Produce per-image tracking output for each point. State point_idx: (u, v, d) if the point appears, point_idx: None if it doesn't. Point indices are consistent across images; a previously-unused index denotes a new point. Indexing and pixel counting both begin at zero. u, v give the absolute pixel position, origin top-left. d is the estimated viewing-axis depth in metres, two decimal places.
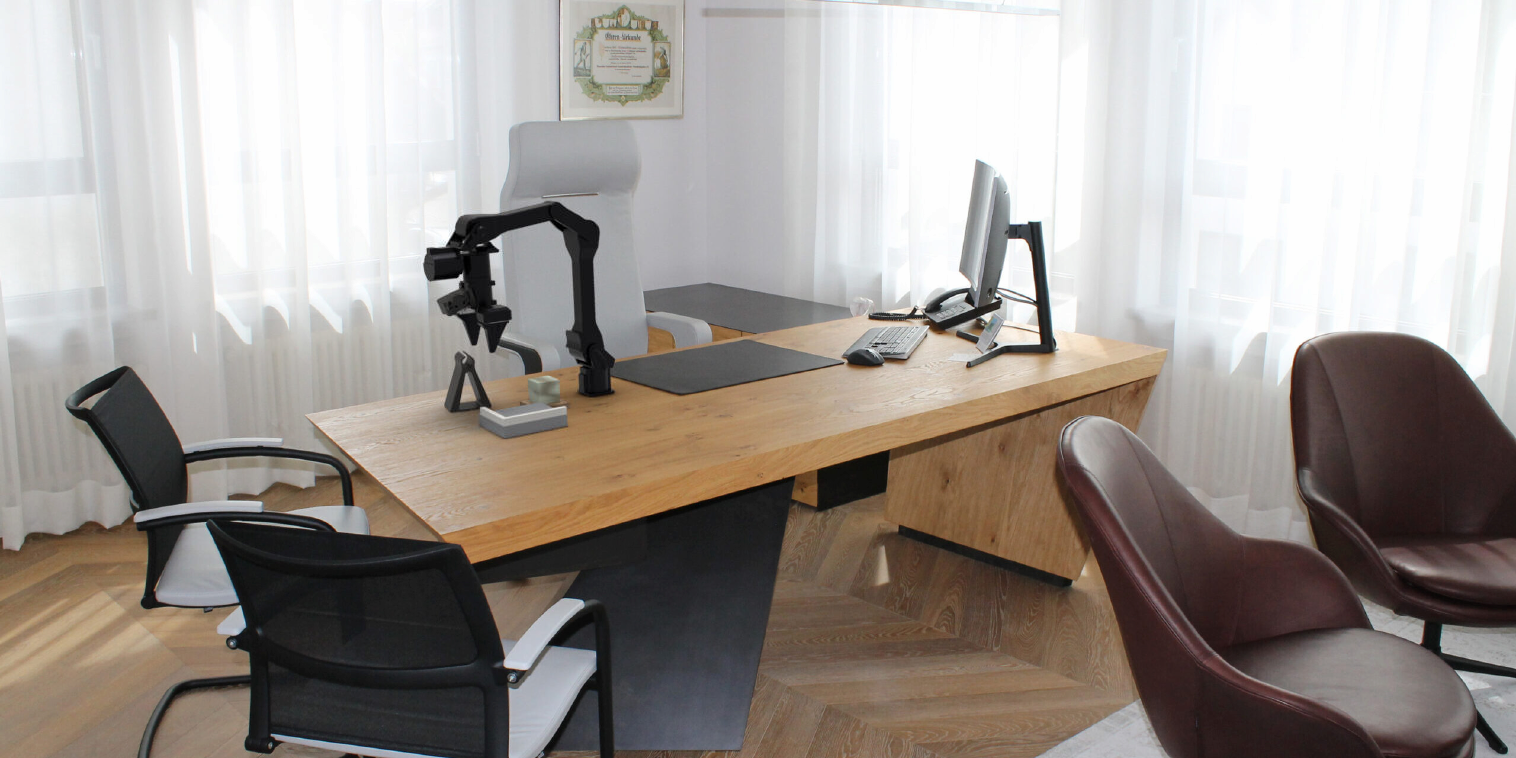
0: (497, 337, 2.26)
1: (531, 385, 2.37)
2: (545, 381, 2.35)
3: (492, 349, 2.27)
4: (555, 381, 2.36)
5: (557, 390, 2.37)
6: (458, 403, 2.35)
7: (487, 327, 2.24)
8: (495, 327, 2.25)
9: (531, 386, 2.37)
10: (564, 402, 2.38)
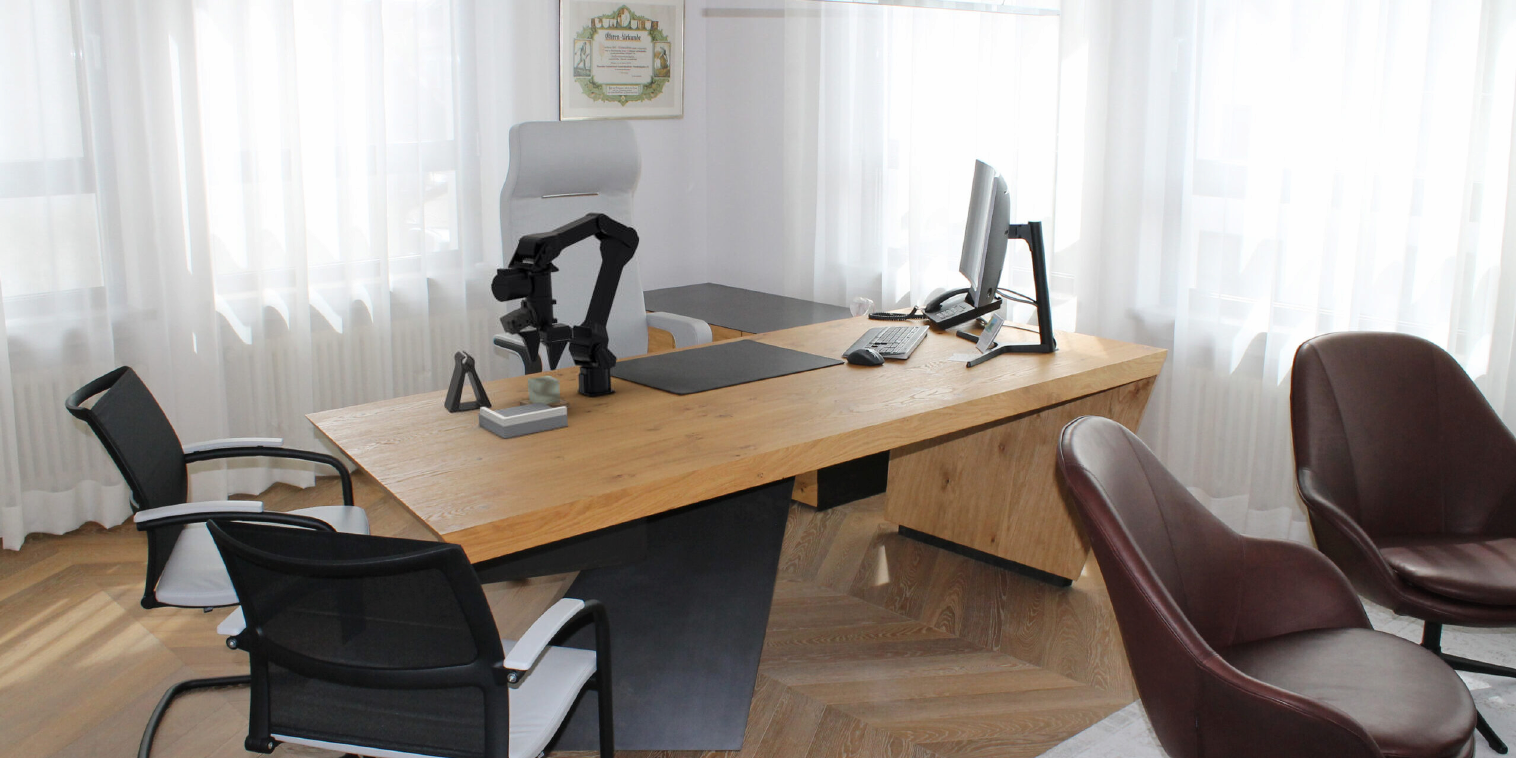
0: (558, 355, 2.32)
1: (531, 385, 2.37)
2: (545, 381, 2.35)
3: (553, 366, 2.32)
4: (555, 381, 2.36)
5: (557, 390, 2.37)
6: (458, 403, 2.35)
7: (549, 345, 2.29)
8: (556, 345, 2.31)
9: (531, 386, 2.37)
10: (564, 402, 2.38)
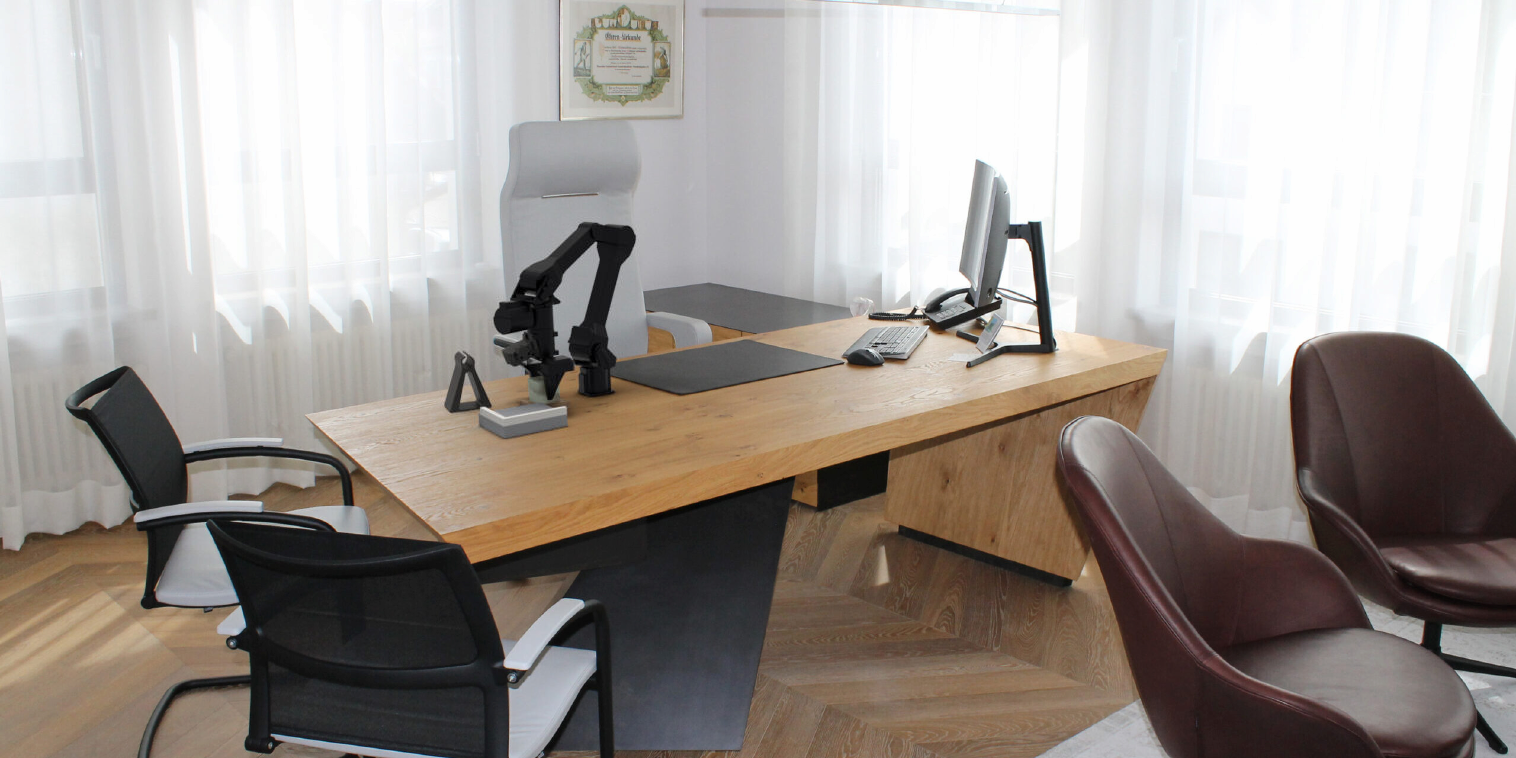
0: (555, 385, 2.35)
1: (531, 384, 2.37)
2: None
3: (550, 396, 2.35)
4: None
5: (557, 389, 2.37)
6: (458, 403, 2.35)
7: (546, 376, 2.32)
8: (553, 375, 2.34)
9: (531, 386, 2.37)
10: (564, 401, 2.37)
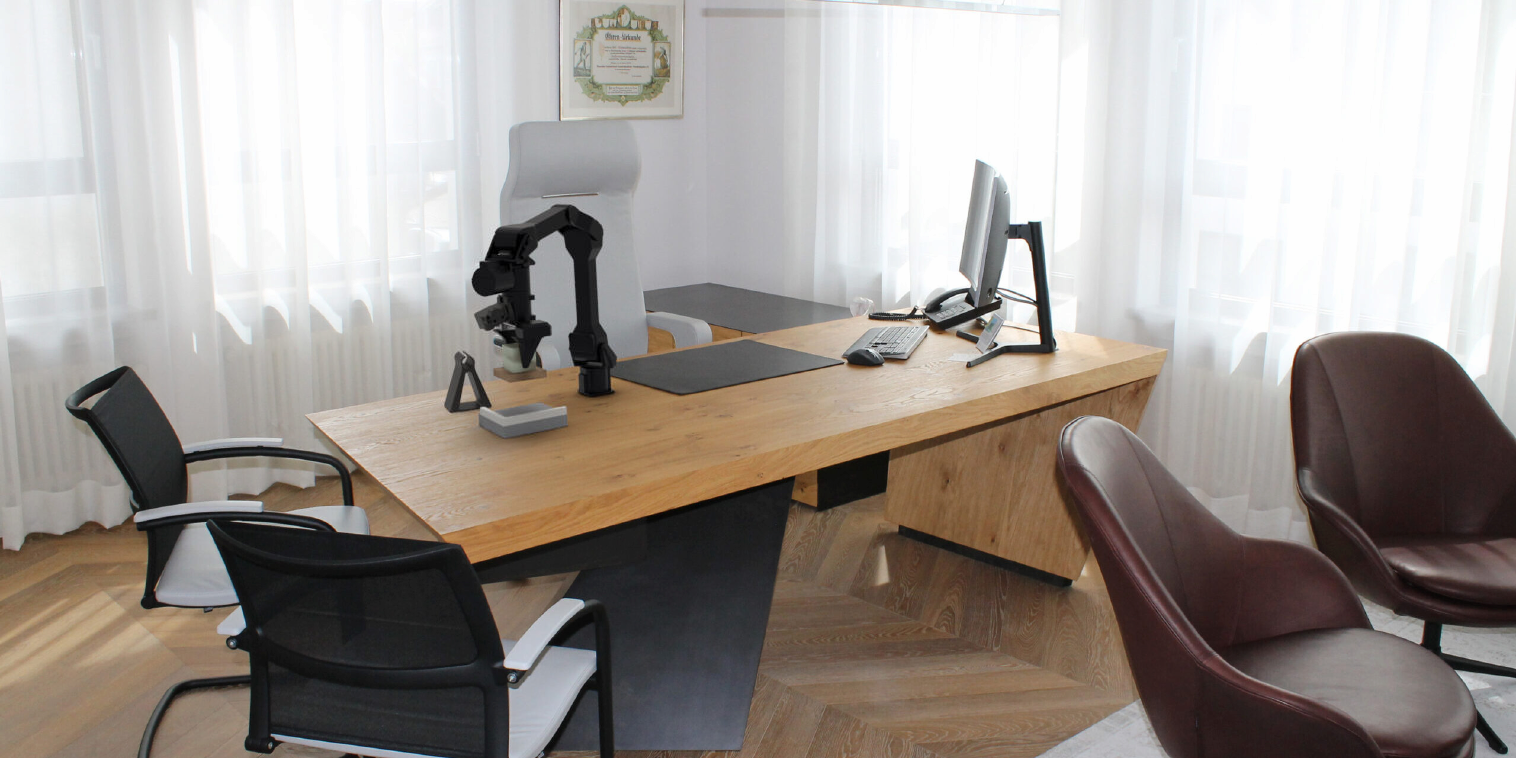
0: (531, 352, 2.19)
1: (505, 351, 2.21)
2: None
3: (525, 364, 2.20)
4: None
5: (533, 357, 2.21)
6: (458, 403, 2.35)
7: (522, 341, 2.17)
8: (529, 341, 2.19)
9: (506, 352, 2.21)
10: (540, 370, 2.22)
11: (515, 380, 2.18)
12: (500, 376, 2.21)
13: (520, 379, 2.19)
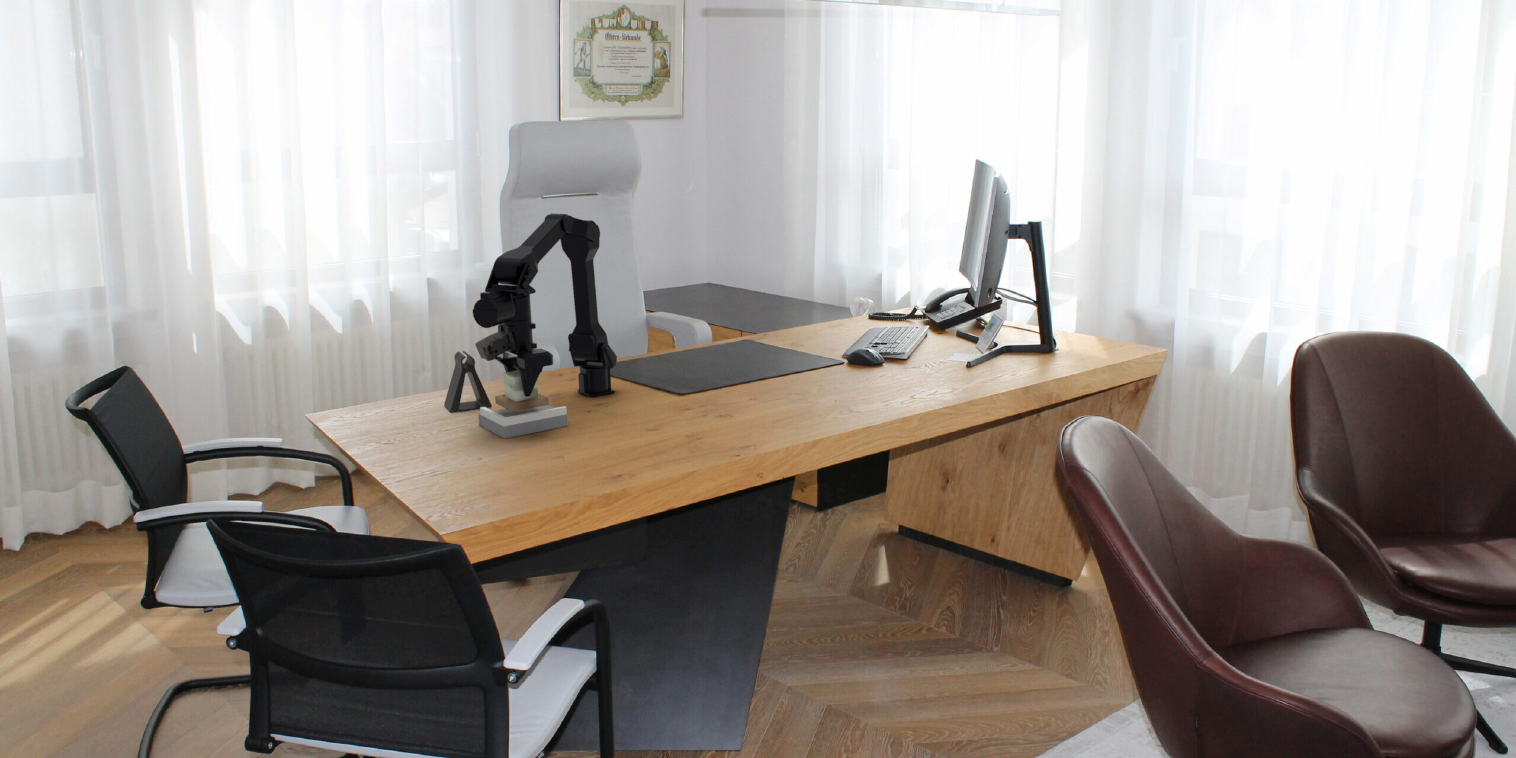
0: (533, 380, 2.20)
1: (507, 379, 2.22)
2: None
3: (527, 392, 2.21)
4: None
5: (535, 385, 2.22)
6: (458, 403, 2.35)
7: (523, 370, 2.18)
8: (531, 370, 2.19)
9: (507, 381, 2.22)
10: (542, 397, 2.23)
11: (517, 409, 2.19)
12: (502, 404, 2.22)
13: (522, 407, 2.20)
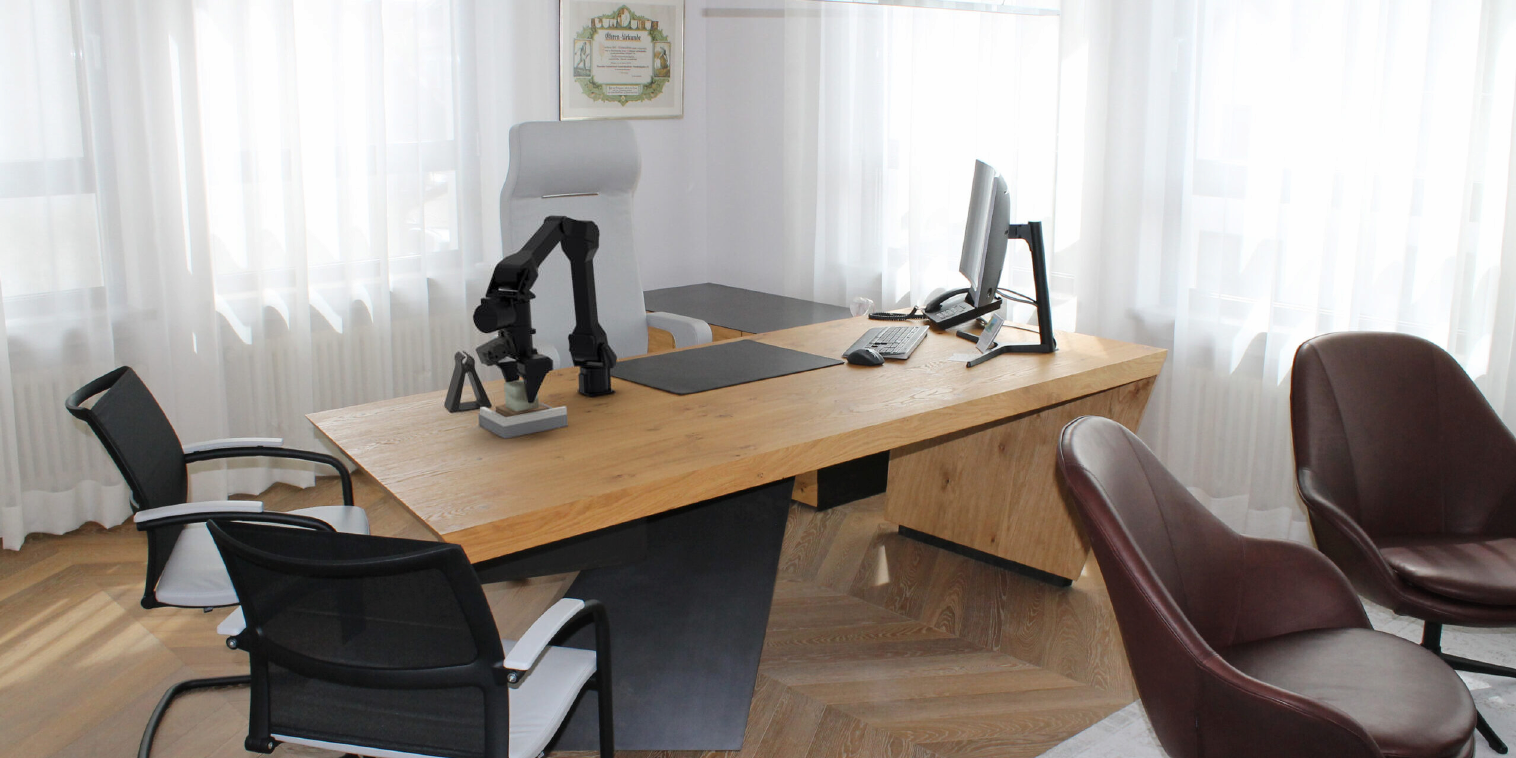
0: (536, 387, 2.19)
1: (508, 389, 2.22)
2: (523, 385, 2.21)
3: (530, 399, 2.20)
4: None
5: None
6: (458, 403, 2.35)
7: (526, 377, 2.17)
8: (534, 376, 2.19)
9: (508, 391, 2.22)
10: (543, 407, 2.23)
11: None
12: (503, 414, 2.22)
13: None
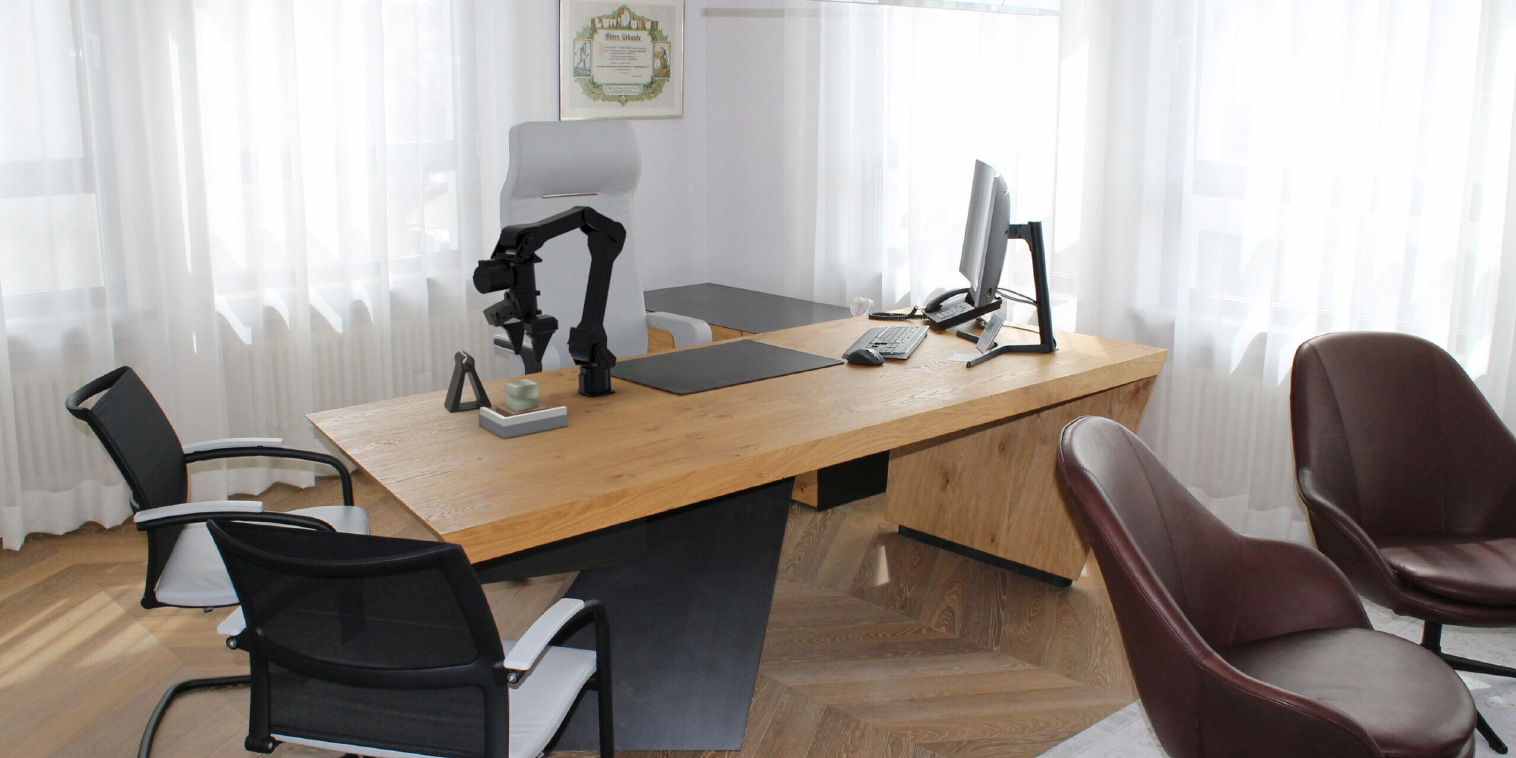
0: (543, 346, 2.29)
1: (508, 389, 2.22)
2: (523, 385, 2.21)
3: (538, 358, 2.29)
4: (533, 385, 2.22)
5: (535, 394, 2.23)
6: (458, 403, 2.35)
7: (534, 337, 2.26)
8: (541, 336, 2.28)
9: (508, 391, 2.22)
10: (543, 407, 2.23)
11: None
12: (503, 414, 2.22)
13: None
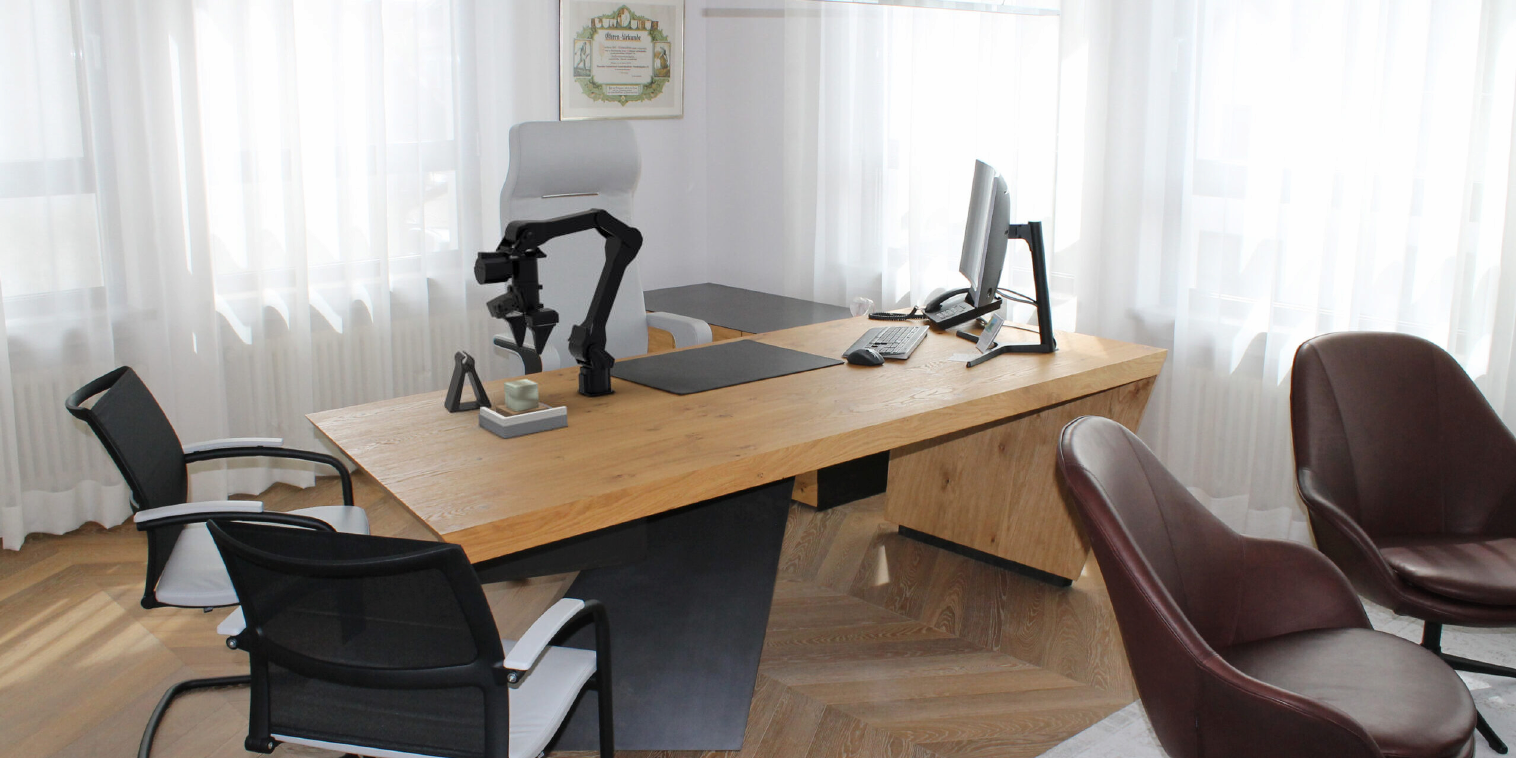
0: (544, 339, 2.33)
1: (508, 389, 2.22)
2: (523, 385, 2.21)
3: (538, 350, 2.34)
4: (533, 385, 2.22)
5: (535, 394, 2.23)
6: (458, 403, 2.35)
7: (535, 330, 2.31)
8: (542, 329, 2.33)
9: (508, 391, 2.22)
10: (543, 407, 2.23)
11: None
12: (503, 414, 2.22)
13: None
